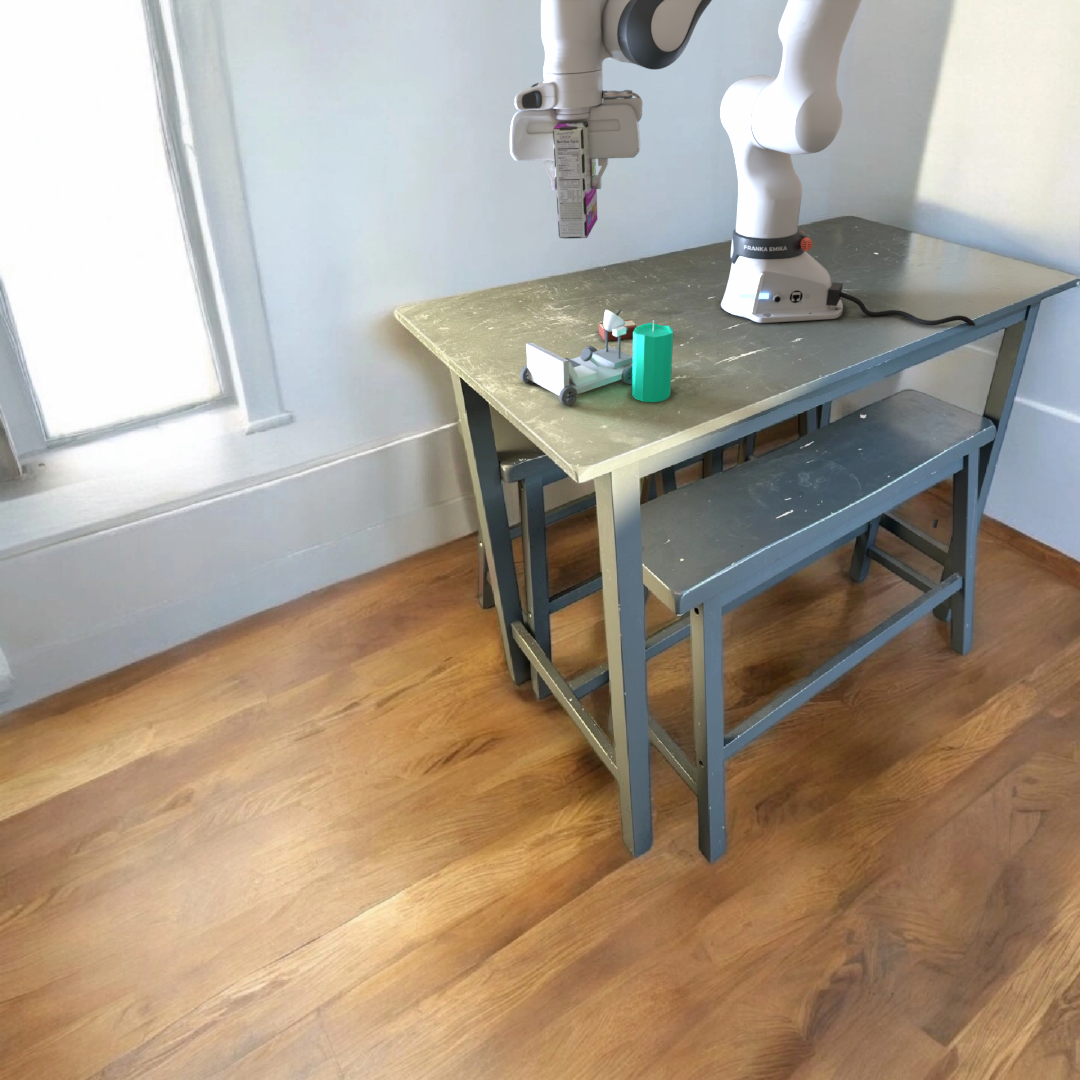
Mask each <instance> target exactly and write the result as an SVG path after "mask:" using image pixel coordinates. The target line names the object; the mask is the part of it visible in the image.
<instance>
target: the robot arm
mask: <svg viewBox="0 0 1080 1080" xmlns="http://www.w3.org/2000/svg"><path fill="white" fill-rule="evenodd" d="M862 1H863V0H787V3H786V5H785V7H784V11H783V12H782V16H781V18H780V21H779V23H778V28H777V29H778V30H777V33H778V37H779V40H780V43H782V56H781V57H782V58H781V63H780V69H779V72H778V74H777V76H773V75H766V74H757V75H752V76H747V77H744V78H740V79H738V80H736V81H735V82H733V83H732V84H731V85H730V86H729V87H728V88H727V90H726V91H725V92H724V95H723V97H722V99H721V103H720V107H719V109H720V111H719V116H720V117H719V118H720V122H721V124H722V127H723V129H724V130H725V131H726V133H727V135H728V137H729V141H730V144H731V147H732V152H733V156H734V157H733V158H734V162H735V168H736V175H737V176H736V177H737V204H736V205H737V206H736V208H737V209H736V222H735V228H734V229H733V232H732V237H731V245H730V261H731V266H730V272H729V276H728V280H727V284H726V288H725V291H724V295H723V298H722V299H721V301H720V307H721V308H722V309H723V310H724V311H725V312H727V313H730V314H731V315H734V316H738V317H741V318H745V319H749V320H751V321H752V322H755V323H759V324H771V323H786V322H787V323H788V322H804V321H818V320H819V321H820V320H835V319H837V318H839V317H841V316H842V314H843V311H844V305H843V301H842V300H841V298H843V299H845V300H848V301H850V302H852V303H854V304H856V305H858V307H859V308H860V310H861V312H862V313H863V314H864V315H866V316H869V317H872V318H873V317H874V318H877V317H885V316H886V317H887V316H898V317H903V318H906V319H908V320H909V321H911V322H913V323H915V324H919V325H923V326H938V325H939V326H940V325H944V324H947V323H950V322H957V321H960V322H961V321H962V322H964V323H966V324H967V325H968V326H971V327H975V326H976V323H975V322H974V321H973V319H971V318H970V317H968V316H966V315H952V316H948V317H944V318H939V319H933V320H928V319H923V318H919V317H916V316H915V315H913V314H911V313H909V312H907V311H903V310H897V309H889V310H888V309H887V310H881V311H871V310H869V309H868V308H867V307H866V305H865V303H864V302H863V301H862V300H861V299H859V298H858V297H855V296H853V295H851V294H848V293H846V292H843V283H842V282H834V281H832V277H831V274H830V273H829V271H828V270H827V268H826V267H825V266H824V265H822V264H821V263H820V262H818V261H817V260H816V259H815V258H814V257H813V256H811V255H810V254H809V253H808V252H809V251H811V249H812V248H813V241H812V239H811V238H810V237H809V236H808V234H806V233H805V232H804V231H803V230H800V229H799V222H800V221H799V220H800V213H801V204H802V197H803V187H802V181H801V179H800V177H799V176H798V174H797V173H796V170H795V168H794V164H793V161H792V155H794V156H799V155H809V154H816V153H819V152H822V151H823V150H825V149H827V148H828V147H829V146H830V145H831V144H832V143H833V142H834V141H835V139H836V137H837V136H838V134H839V131H840V129H841V126H842V123H843V114H844V113H843V103H842V102H841V98H840V95H839V93H838V71H839V66H840V65H839V64H840V59H841V55H842V53H843V49H844V45H845V42H846V40H847V37H848V35H849V32H850V30H851V27H852V25H853V22H854V20H855V18H856V15H857V12H858V10H859V7H860V5H861V3H862ZM711 2H713V0H540V31H541V34H540V35H541V42H542V45H543V49H544V62H543V63H544V64H543V69H542V73H543V79H542V81H541V82H536V83H534V84H532V85H531V86H529V87H526V88H523V89H522V90H520V91H519V92H518V93H517V94H516V95H515V97H514V106H515V108H516V110H517V111H516V112H515V113H514V115H513V116H512V118H511V123H510V130H509V131H510V132H509V151H510V152H509V153H510V155H511V157H512V159H513V160H514V161H515V162H534V161H538V162H539V161H542V162H543V169H544V171H545V172H546V174H547V176H548V177H549V179H550V180H551V181H550V182H551V190H552V191H556V177H555V169H554V168H553V167H554V166H555V161H554V142H553V128H554V127H555V126H556V125H557V124H558V123H563V122H587V123H588V140H589V159H596V160H597V165H598V167H600V168H599V171H598V172H597V174H596V175H593V176H592V177H591V183H592V185H591V188H592V189H596V190H601V189H602V184H603V183H602V177H603V175H604V173H605V171H606V169H607V167H608V165H609V159H631V158H633V159H634V158H635V157H637V155H639V153H640V150H641V134H640V133H641V132H640V125H639V122H640V121H641V119H642V117H643V109H644V107H643V105H644V103H643V99H642V98H641V96H640V95H639V94H637V93H636V92H634V91H633V90H632V89H623V90H604V88H603V87H604V86H603V82H604V81H603V63H604V60H606V59H608V60H612V61H617V62H621V63H626V64H633V65H637V66H639V67H641V68H644V69H648V70H662V69H664V68H665V69H666V68H667V67H669V66H670V65H672V64H673V63H675V62H676V61H677V60H678V59H679V58H680V57H681V56H682V54H683V53H684V51H685V49H686V48H687V46H688V44H689V42H690V39H691V38H692V36H693V33H694V31H695V28H696V26H697V24H698V22H699V21H700V18H701V16H702V15H703V14H704V11H706V9H707V8H708V6H710V4H711ZM938 523H939V519H933V523H932V525H931V526H932V528H933V529H936V528H937V527H938Z"/></svg>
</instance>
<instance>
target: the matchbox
mask: <svg viewBox="0 0 1080 1080" xmlns="http://www.w3.org/2000/svg"><path fill="white" fill-rule="evenodd" d="M622 320H623V321H624V322H625V323H626V324H625V325H623V327H628V331H626V334H624V335H621V340H625V339H633V332H634V329H635V328H636V327H638V326H637V325H636V323H635V322H634V320H632V319H622ZM598 334H599V336H600V337H601V339H603V341H604V342H606V330H605V328H604V322H599V323H598ZM609 341H618V336H617V337H616V336H614V335H613V331H611V332H609V331H608V342H609Z"/></svg>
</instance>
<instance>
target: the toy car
mask: <svg viewBox="0 0 1080 1080" xmlns="http://www.w3.org/2000/svg"><path fill="white" fill-rule="evenodd" d="M621 312H622V309H621V308H619V309H618V310H617V312H616V313H614V312H613V311H611V310H609V309H605V311H604V315H603V323H604V328H605V330H606V341H605V348H602V349H599V350H597V348H596V347H594V346H592V345H588V346H585V347H584V348H583V350H582V351H581V352H580V356H576V357H573V358H571V359H570V358H569V357H562V356H561V355H558V354H556V353H555V352H553V351H550V350H548V349H546V348H545V347H542V346H540V345H539V344H536V343H534V342H533V341H530V342H527V343H526V344H525V348H526V349H525V351H526V365H525V366H523V368H522V369H521V371H520V374H519V375H520V376H519V377H520V380H521V382H523V383H525V384H526V385H530V384H533V383H535V384H536V385H538V386H540V387H542V388H544V389H545V390H548V391H549V392H551V393H553V394H555V395H556V396H558V399H559V402H560V403H561V404H562V405H564V406H567V407H568V406H572V405H573V404H574V403H575V402H576V401H577V397H578V395H580V394H582V393H586V392H588V391H592V390H594V389H597V388H600V387H603V386H606V385H610V384H612V383H615V382H617V381H620V380H622V382H623V383H625V384H627V385H632V369H633V355H630V354H628V353H626V352H623V351H621V349H622V348H621V347H622V346H621V344H622V343H621V342H622V341H621V340H622V339H621V335H624V334H626V331H628V327H623V325H625V324H626V323H625V322H624V321H623V320H624V319H623V318H621V316H619V315H620V313H621ZM608 331H609V332H611V331H613V335H614V336H616V337H617V336H618V340H617V349H616V348H615V347H612V346H609V341H608Z"/></svg>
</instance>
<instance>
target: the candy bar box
mask: <svg viewBox="0 0 1080 1080" xmlns="http://www.w3.org/2000/svg"><path fill="white" fill-rule="evenodd" d="M553 142H554V172H555V177H556V190H555V191H556V192H555V193H556V208H557V209H556V211H557V213H556V214H557V228H558V229H557V230H558V238H559V239H587V238H588V237H589V235H590V233H591V231H592V230H593V229H594V226H595V225H596V223H597V221H598V195H597V193H598V191H597V189H592V188H591V185H592V183H591V177H592V176H593V175H597V165H596V164H597V159H589V140H588V123H587V122H563V123H558V124H557V125H556V126H555V127H554V128H553Z"/></svg>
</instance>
